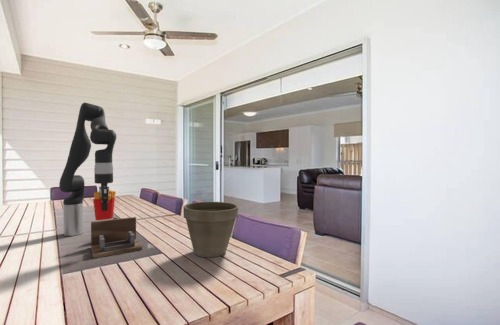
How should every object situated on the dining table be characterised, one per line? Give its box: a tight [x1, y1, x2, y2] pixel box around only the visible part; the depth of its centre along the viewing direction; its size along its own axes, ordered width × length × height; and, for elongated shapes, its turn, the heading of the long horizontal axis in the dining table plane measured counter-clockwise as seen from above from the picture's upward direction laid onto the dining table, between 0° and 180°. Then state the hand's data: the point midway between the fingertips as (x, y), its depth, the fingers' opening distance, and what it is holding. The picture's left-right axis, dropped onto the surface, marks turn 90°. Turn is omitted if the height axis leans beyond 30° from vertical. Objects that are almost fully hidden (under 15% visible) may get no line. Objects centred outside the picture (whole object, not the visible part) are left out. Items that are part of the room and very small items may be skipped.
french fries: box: [92, 189, 116, 221], centre depth 125 cm, size 9×4×13 cm, turn 139°
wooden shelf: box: [90, 216, 143, 259], centre depth 129 cm, size 17×20×12 cm
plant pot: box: [182, 201, 239, 258], centre depth 125 cm, size 25×25×22 cm
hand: (104, 209), depth 125 cm, fingers closed on french fries, 4 cm apart
